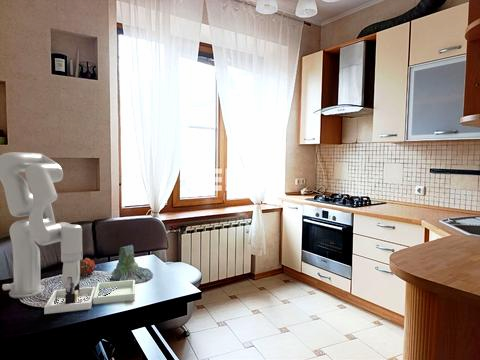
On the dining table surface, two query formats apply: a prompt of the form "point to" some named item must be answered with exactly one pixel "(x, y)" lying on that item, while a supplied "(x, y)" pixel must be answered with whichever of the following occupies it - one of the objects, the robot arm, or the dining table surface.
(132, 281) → the sage bin
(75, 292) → the birch block
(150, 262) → the dining table surface
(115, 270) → the tree stump
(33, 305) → the dining table surface
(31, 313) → the dining table surface
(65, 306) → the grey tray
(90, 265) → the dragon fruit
